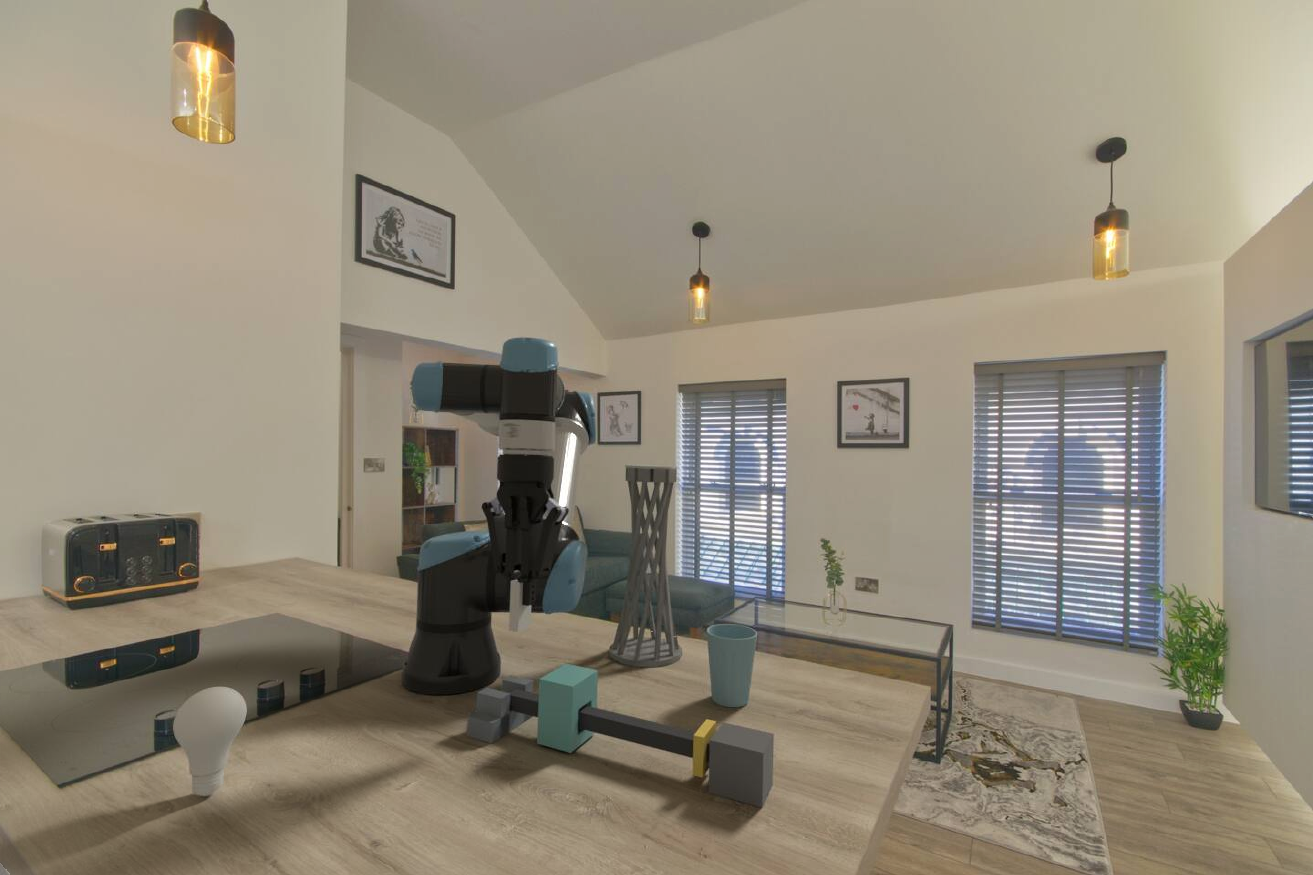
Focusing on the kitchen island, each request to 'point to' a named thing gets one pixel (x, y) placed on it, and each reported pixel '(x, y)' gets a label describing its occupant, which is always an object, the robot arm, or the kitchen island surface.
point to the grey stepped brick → (497, 711)
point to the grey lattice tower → (639, 647)
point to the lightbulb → (209, 734)
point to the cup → (731, 663)
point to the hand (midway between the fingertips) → (519, 628)
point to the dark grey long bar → (634, 730)
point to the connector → (741, 764)
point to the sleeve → (565, 706)
